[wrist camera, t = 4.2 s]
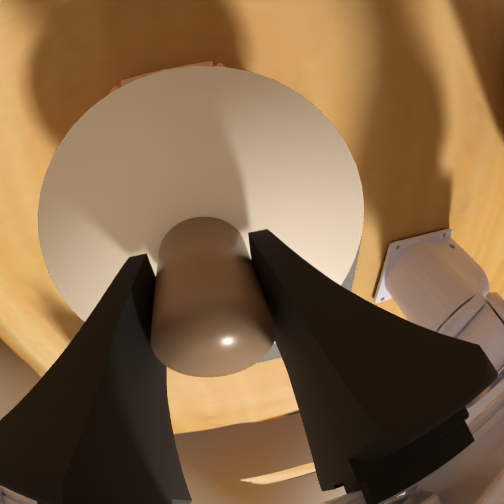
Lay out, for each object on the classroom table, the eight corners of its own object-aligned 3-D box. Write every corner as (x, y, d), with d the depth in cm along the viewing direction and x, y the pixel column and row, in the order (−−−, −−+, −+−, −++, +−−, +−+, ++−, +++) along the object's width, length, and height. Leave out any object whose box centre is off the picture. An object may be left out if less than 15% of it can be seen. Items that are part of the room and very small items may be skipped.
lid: (353, 60, 8) (455, 61, 4) (341, 316, 15) (379, 383, 11) (7, 137, 6) (-79, 183, 2) (120, 364, 14) (115, 439, 10)
